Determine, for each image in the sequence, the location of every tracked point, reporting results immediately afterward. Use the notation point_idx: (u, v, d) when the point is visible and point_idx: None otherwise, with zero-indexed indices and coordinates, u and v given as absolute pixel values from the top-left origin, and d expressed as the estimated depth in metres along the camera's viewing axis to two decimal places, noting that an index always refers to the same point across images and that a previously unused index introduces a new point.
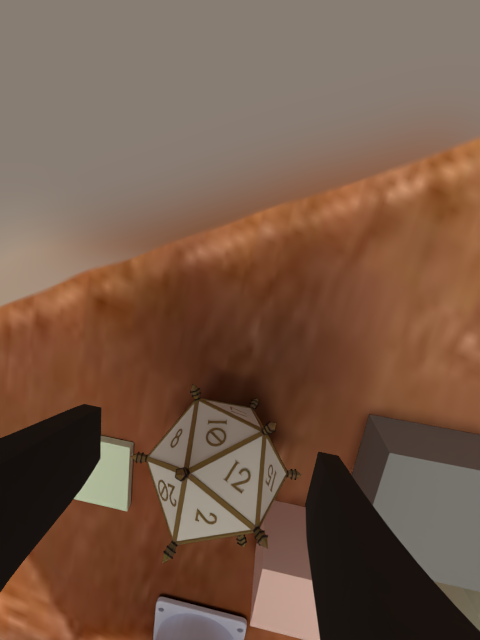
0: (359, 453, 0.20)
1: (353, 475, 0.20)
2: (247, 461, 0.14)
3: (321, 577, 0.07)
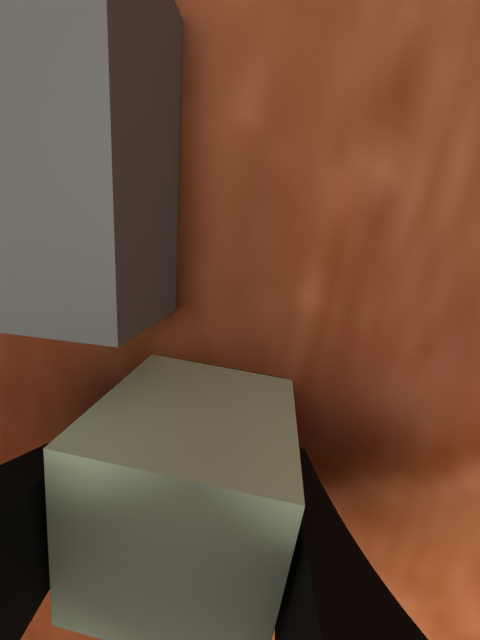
0: None
1: None
2: None
3: None
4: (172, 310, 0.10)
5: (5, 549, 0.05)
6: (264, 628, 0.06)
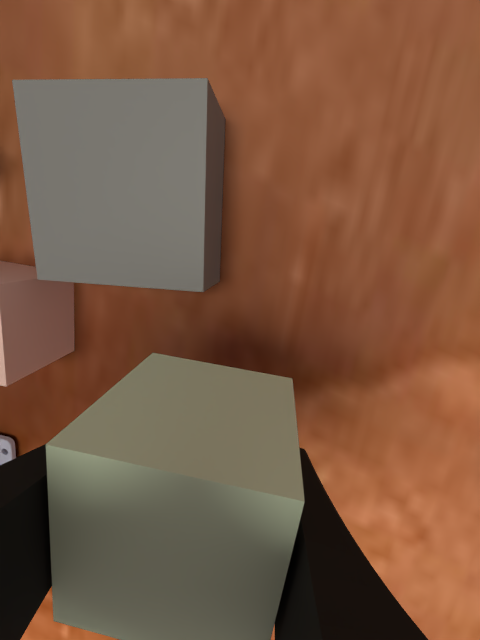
0: None
1: None
2: None
3: None
4: (218, 281, 0.16)
5: (5, 549, 0.05)
6: (264, 623, 0.06)
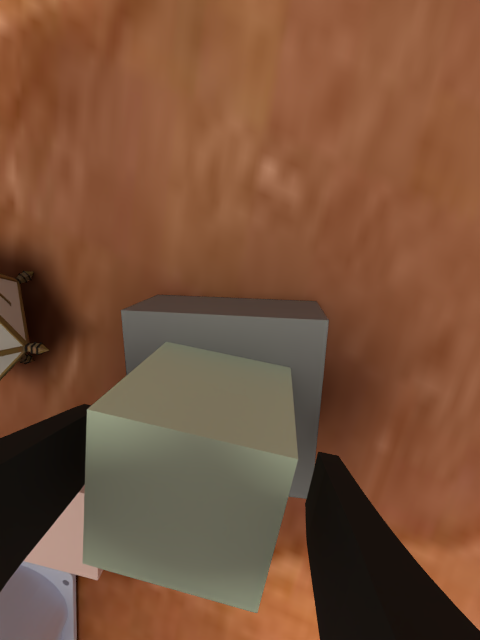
0: None
1: None
2: None
3: (321, 577, 0.07)
4: None
5: None
6: (262, 564, 0.07)
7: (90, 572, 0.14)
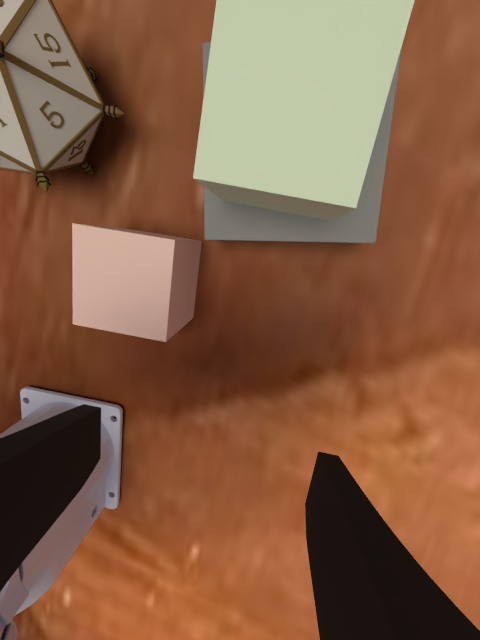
0: None
1: None
2: None
3: (321, 577, 0.07)
4: None
5: None
6: (366, 144, 0.08)
7: (159, 333, 0.15)
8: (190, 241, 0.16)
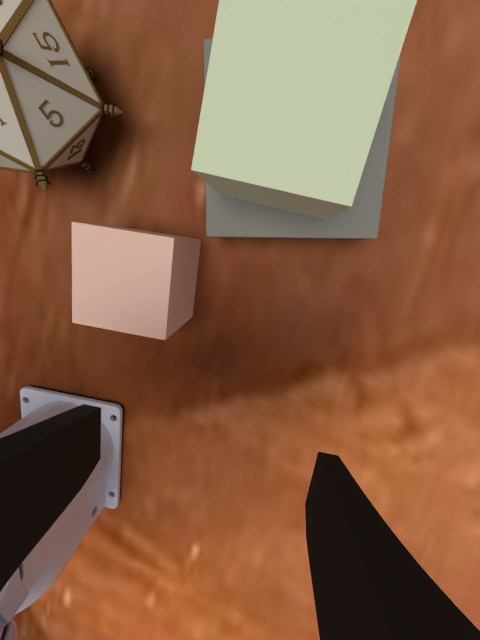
0: None
1: None
2: None
3: (321, 577, 0.07)
4: (357, 238, 0.17)
5: None
6: (364, 143, 0.08)
7: (159, 331, 0.15)
8: (189, 239, 0.16)
